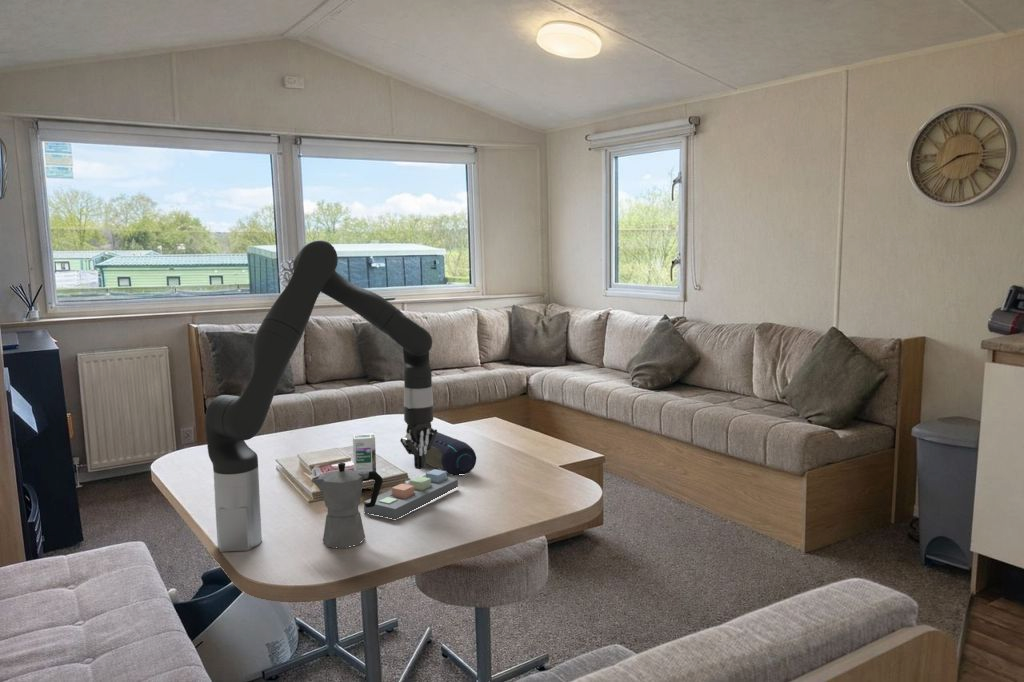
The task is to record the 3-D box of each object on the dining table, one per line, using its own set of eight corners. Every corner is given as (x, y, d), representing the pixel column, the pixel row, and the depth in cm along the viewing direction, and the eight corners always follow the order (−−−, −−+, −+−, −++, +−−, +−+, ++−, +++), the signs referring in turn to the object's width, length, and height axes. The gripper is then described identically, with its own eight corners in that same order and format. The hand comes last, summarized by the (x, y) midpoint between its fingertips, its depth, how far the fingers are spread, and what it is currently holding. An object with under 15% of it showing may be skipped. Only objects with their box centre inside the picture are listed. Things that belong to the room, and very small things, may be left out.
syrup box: (355, 491, 194) (353, 438, 192) (354, 484, 199) (352, 433, 198) (376, 489, 195) (375, 437, 193) (375, 482, 201) (373, 432, 199)
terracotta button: (404, 503, 180) (403, 490, 179) (391, 501, 182) (391, 487, 181) (414, 499, 183) (414, 485, 183) (402, 496, 185) (401, 483, 185)
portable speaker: (407, 461, 221) (406, 430, 220) (435, 455, 227) (434, 425, 226) (451, 482, 201) (450, 447, 200) (480, 475, 207) (480, 441, 206)
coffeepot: (312, 551, 155) (308, 471, 152) (315, 535, 164) (312, 458, 162) (384, 545, 158) (382, 466, 155) (383, 529, 167) (381, 454, 165)
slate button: (438, 488, 191) (437, 475, 191) (426, 485, 194) (425, 473, 193) (446, 483, 195) (446, 471, 194) (435, 481, 197) (434, 469, 196)
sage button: (421, 495, 186) (421, 482, 185) (409, 493, 188) (409, 480, 187) (431, 491, 189) (430, 478, 188) (419, 488, 191) (418, 476, 191)
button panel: (395, 520, 172) (395, 507, 172) (364, 513, 177) (363, 500, 177) (458, 490, 194) (457, 478, 194) (428, 484, 199) (428, 472, 199)
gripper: (422, 397, 193) (424, 459, 195) (390, 406, 182) (392, 473, 184) (445, 400, 189) (446, 464, 191) (413, 410, 178) (415, 477, 180)
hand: (419, 468), depth 188 cm, fingers closed
